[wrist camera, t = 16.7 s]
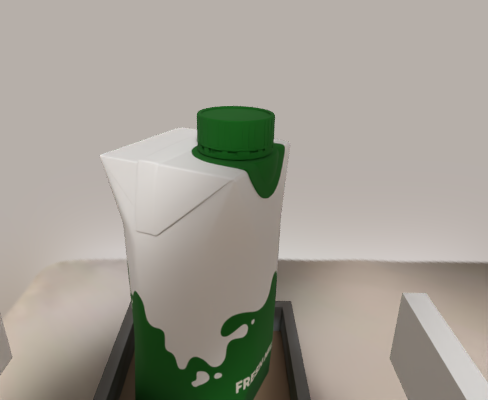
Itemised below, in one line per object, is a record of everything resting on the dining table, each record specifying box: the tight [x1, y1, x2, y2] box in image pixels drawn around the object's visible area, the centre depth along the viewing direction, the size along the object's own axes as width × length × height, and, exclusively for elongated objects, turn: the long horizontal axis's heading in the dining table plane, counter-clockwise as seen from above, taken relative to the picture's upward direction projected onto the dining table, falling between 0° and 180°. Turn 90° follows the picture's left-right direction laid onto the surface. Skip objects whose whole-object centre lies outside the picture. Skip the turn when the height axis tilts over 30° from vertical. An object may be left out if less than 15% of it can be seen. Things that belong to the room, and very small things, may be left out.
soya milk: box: [100, 106, 290, 400], centre depth 26 cm, size 9×9×20 cm
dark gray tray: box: [93, 301, 311, 400], centre depth 29 cm, size 14×14×4 cm
